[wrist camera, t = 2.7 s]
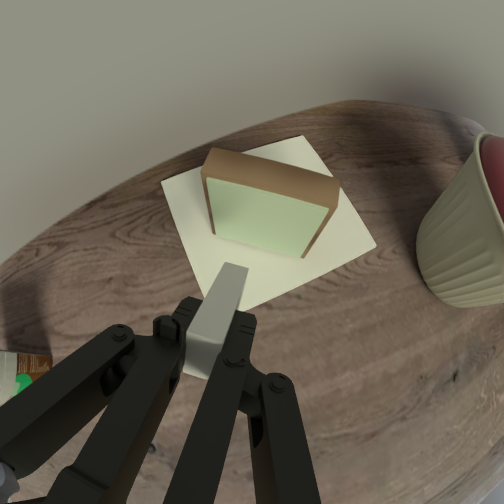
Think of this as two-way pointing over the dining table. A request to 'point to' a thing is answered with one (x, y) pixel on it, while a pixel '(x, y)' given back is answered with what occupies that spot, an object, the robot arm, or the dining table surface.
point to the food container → (20, 371)
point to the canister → (467, 231)
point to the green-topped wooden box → (267, 201)
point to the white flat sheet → (256, 258)
